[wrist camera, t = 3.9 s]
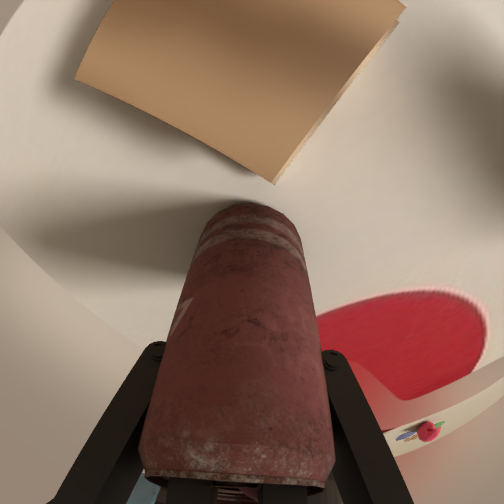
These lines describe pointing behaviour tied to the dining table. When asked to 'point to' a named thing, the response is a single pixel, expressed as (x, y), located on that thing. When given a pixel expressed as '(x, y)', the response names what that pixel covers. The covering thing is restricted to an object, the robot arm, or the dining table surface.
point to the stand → (237, 67)
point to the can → (242, 366)
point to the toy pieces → (423, 432)
